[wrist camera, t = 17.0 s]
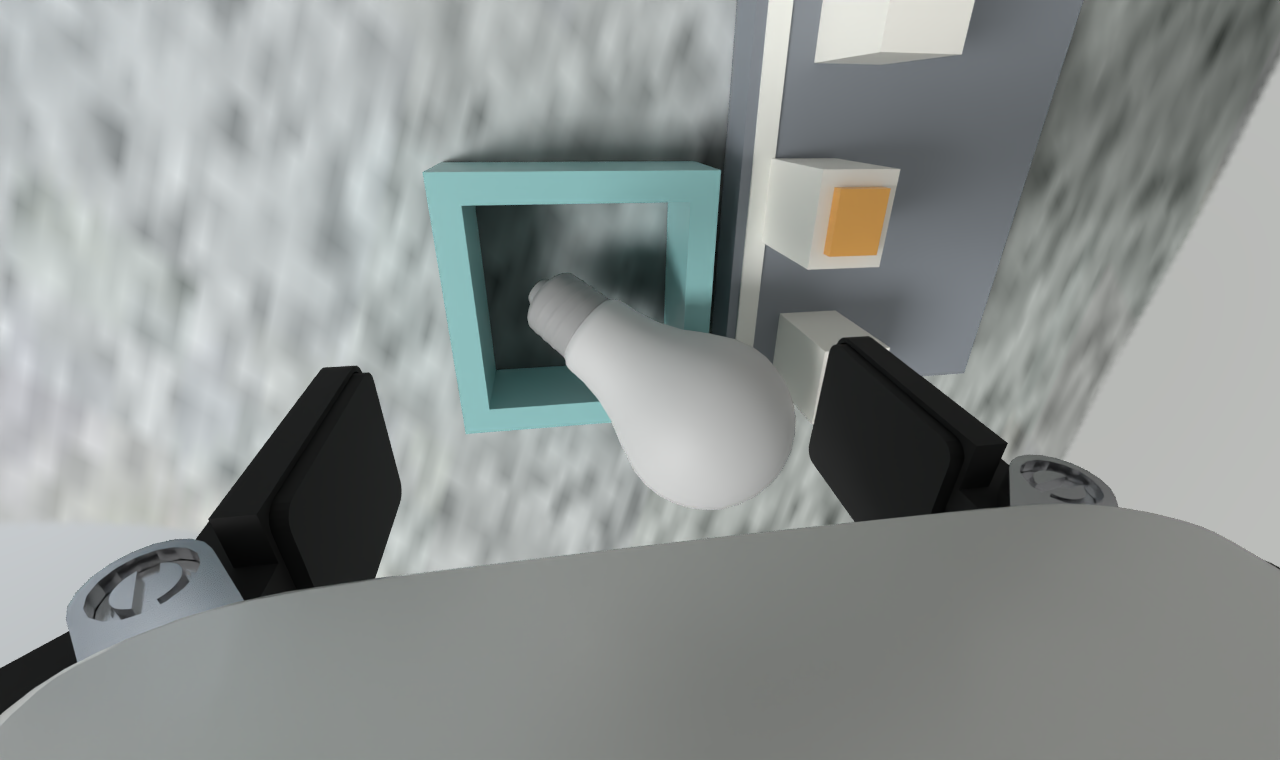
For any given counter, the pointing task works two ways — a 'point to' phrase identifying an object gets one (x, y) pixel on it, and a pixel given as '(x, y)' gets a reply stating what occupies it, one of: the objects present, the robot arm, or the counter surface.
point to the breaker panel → (886, 136)
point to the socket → (462, 185)
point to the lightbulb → (672, 395)
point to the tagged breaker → (829, 211)
